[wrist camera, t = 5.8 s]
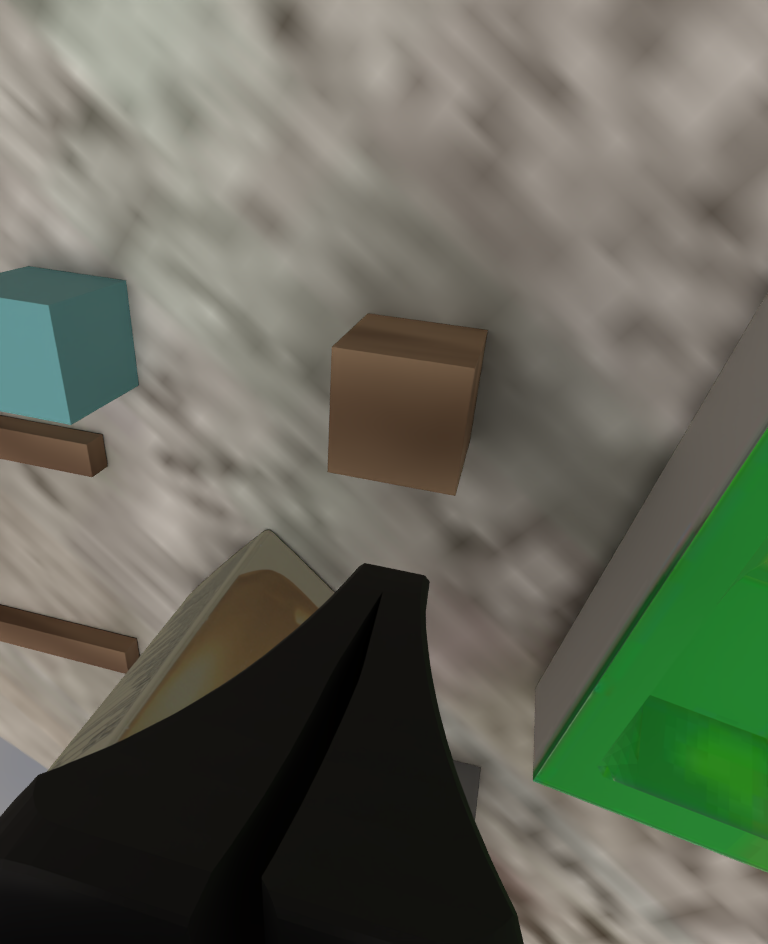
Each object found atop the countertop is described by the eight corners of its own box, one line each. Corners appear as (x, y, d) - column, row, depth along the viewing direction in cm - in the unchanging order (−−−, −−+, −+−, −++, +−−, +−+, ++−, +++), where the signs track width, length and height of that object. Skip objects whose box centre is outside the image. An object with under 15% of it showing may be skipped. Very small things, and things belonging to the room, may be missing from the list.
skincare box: (256, 651, 29) (91, 933, 19) (189, 590, 28) (-23, 850, 18) (344, 591, 26) (207, 889, 16) (272, 521, 25) (76, 786, 15)
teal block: (139, 384, 24) (70, 425, 20) (50, 368, 24) (-31, 405, 21) (127, 280, 22) (48, 305, 18) (30, 266, 23) (-64, 287, 19)
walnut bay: (139, 659, 32) (128, 674, 31) (-49, 612, 34) (-64, 624, 33) (102, 434, 25) (86, 444, 24) (-127, 391, 27) (-149, 399, 26)
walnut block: (470, 440, 22) (455, 495, 18) (361, 421, 22) (327, 472, 19) (487, 329, 20) (474, 368, 16) (368, 312, 20) (331, 346, 17)
